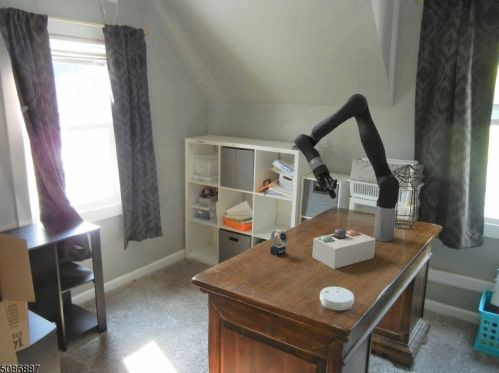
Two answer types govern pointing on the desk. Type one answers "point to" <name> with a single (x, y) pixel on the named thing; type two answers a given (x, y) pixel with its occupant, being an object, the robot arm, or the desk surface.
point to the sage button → (326, 238)
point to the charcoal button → (340, 233)
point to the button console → (344, 250)
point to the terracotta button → (352, 233)
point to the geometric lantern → (408, 190)
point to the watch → (278, 248)
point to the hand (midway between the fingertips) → (334, 197)
